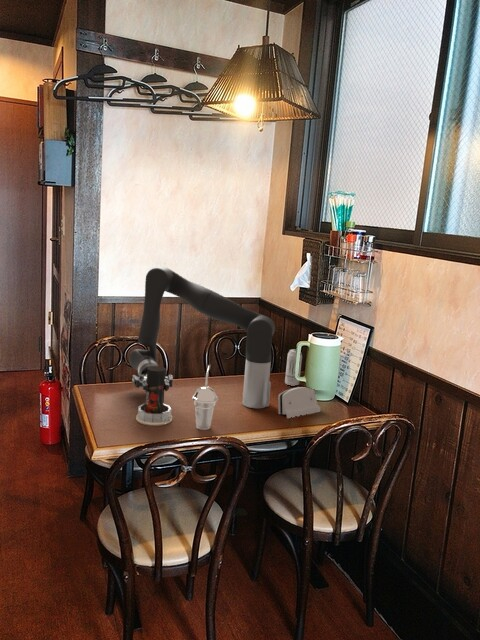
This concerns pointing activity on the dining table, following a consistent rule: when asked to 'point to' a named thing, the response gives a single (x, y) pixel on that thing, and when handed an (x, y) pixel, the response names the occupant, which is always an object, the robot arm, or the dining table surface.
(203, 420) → the cup with straw
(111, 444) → the dining table surface
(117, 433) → the dining table surface
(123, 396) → the dining table surface
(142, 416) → the silver bowl
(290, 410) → the hinge
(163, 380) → the deodorant
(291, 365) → the energy drink can
